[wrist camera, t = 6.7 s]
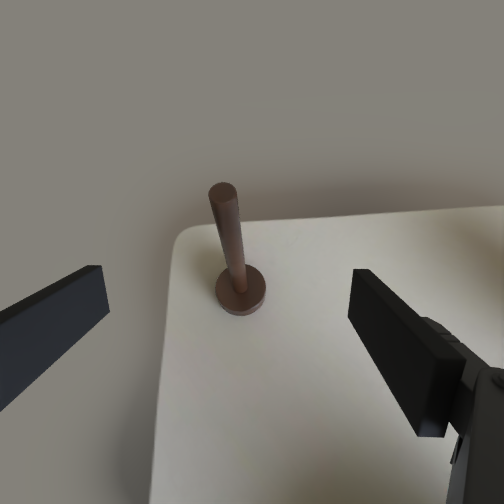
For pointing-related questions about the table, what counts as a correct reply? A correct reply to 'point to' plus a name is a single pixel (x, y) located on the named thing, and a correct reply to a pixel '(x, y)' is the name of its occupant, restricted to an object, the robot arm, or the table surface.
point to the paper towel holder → (234, 256)
